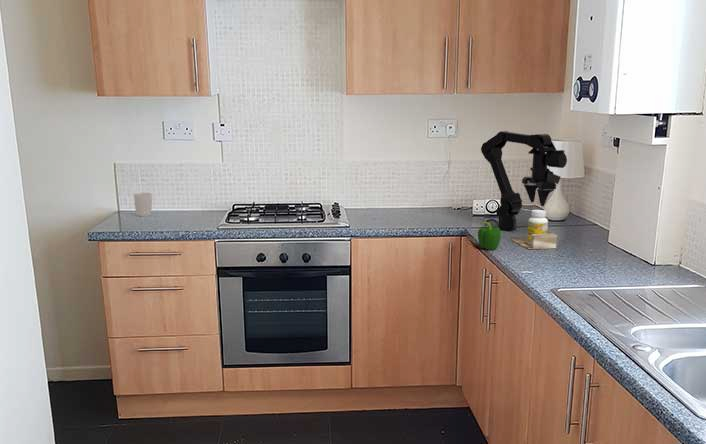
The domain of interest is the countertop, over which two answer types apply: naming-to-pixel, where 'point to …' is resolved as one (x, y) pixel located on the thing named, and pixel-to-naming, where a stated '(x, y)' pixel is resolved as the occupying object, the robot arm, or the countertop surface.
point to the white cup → (143, 204)
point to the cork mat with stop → (539, 241)
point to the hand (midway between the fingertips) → (537, 204)
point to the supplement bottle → (537, 224)
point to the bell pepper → (489, 237)
